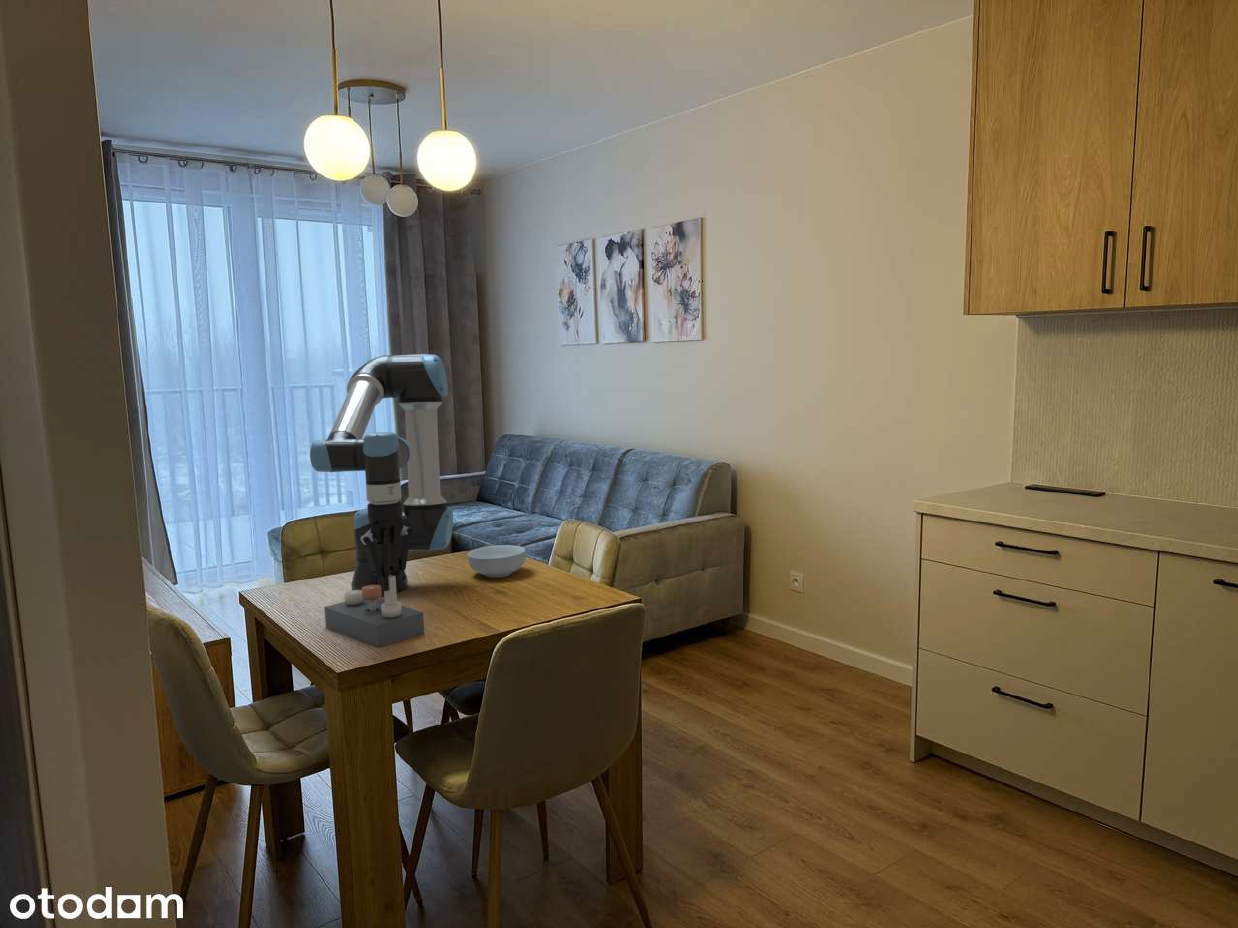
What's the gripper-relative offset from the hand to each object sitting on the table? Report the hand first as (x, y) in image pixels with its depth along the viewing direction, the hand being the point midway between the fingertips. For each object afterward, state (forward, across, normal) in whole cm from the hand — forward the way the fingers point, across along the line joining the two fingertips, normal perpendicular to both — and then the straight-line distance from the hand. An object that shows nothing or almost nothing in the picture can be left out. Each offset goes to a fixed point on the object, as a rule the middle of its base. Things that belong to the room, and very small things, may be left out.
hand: (390, 603), depth 187 cm
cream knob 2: (+8, 0, 0) cm, 8 cm away
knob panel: (+8, 0, +8) cm, 11 cm away
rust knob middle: (+5, 0, +8) cm, 10 cm away
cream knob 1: (+8, 0, +16) cm, 18 cm away
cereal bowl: (+8, +51, +24) cm, 57 cm away
